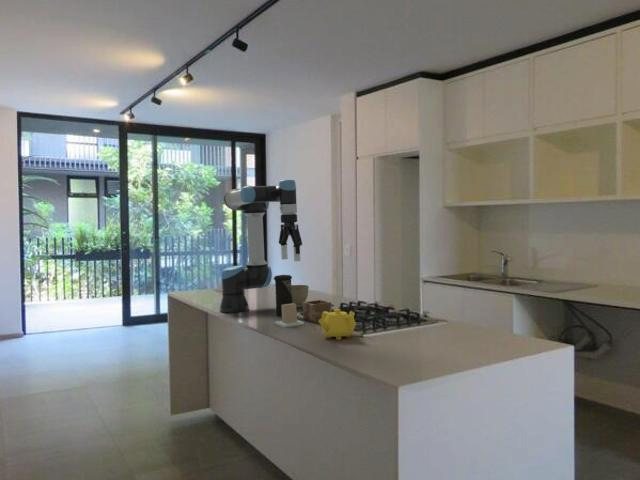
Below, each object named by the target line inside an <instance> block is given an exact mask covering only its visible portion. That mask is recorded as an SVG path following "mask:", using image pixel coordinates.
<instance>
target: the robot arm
mask: <svg viewBox="0 0 640 480" xmlns="http://www.w3.org/2000/svg"><path fill="white" fill-rule="evenodd" d="M223 202H224V205H225V206H226V207H227V208H228V209H230V210H233V211H238V212H239V211H243V215H244V216H245V217H246V227H247V229H246V230H247V249H248V250H247V251H248V257H247V258H248V261H247V262H246V263H245V267H244V266H243V265H234V266H233V265H232V266H229V267H225V268H224V269H222V270H221V277H220V278H221V290H222V298H221V302H220V305H219V306H220V307H219V311H220V312H221V313H225V312H233V313H241V312H242V313H243V312H246V311H248V310H249V304H248V300H247V298H246V295H245V290H253V289H262V288H267V287H268V286H270V284H271V282H272V277H273V274H272V272H273V271H272V268H271V266H269V265H268V261H266V260H265V242H264V240H265V238H264V221H263V220H264V219H263V218H264V215H265V214H266V210H268V209H269V208H270V207H269V206H270V203H278V202H279V209H280V214H281V215H280V223H282V224H280V232H279V237H278V238H279V239H278V244H279V245H280V251H281V253H280V254H281V260H283V261H284V260H288V259H289V257H288V240H289V236H290V237H291V241H292V242H293V261H294V262H301V246H303V241H302V238H301V233H300V229H299V224H296V223H297V222H298V215H297V213H298V207H297V205H298V203H297V185H296V181H295V180H294V179H283V180H279V181H278V185H248V186H242V187H241V188H234V189H231V190H227V191H226V192H225V194H224V196H223Z"/></svg>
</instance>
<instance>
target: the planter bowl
mask: <svg viewBox="0 0 640 480" xmlns="http://www.w3.org/2000/svg"><path fill="white" fill-rule="evenodd" d="M291 287H292V301H293V303H294V304H296V309H298V308H303V305H302V302H307V299H308V296H309V285H308V284H293V285H292V284H291Z"/></svg>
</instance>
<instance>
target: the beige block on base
mask: <svg viewBox="0 0 640 480" xmlns="http://www.w3.org/2000/svg"><path fill="white" fill-rule="evenodd" d="M281 307H282V316H281V320H276V321H275V322H274V323H275V325H278V326H280V327H282V328H289V327H297V326H302V325H305V321H302V320H299V319H298V318H297V317H298V316H297V313H298V312H297V308H296V304H294V303H292V304H284V305H281Z"/></svg>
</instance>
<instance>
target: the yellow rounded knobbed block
mask: <svg viewBox="0 0 640 480" xmlns="http://www.w3.org/2000/svg"><path fill="white" fill-rule="evenodd" d="M355 314H356V313H355V311H352V310H351V311H350V312H349V314H348V312H346V311H341V308H334V309H333V311H332V312H330V313H329V312H327V311H324V312H323V313H322V318H321V319H320V320H319V321H318V323H319V324H320V325H321V331H322V332H323V334H324V335H325V336H326V339H331V338H332V337H333V338H335V340H337V341H340V340H342V337H345V338H351V337H352V336H351V335H352V333H353V332H354V330H355V327H356V326H357V323H356V321H355V317H354V316H355Z"/></svg>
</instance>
